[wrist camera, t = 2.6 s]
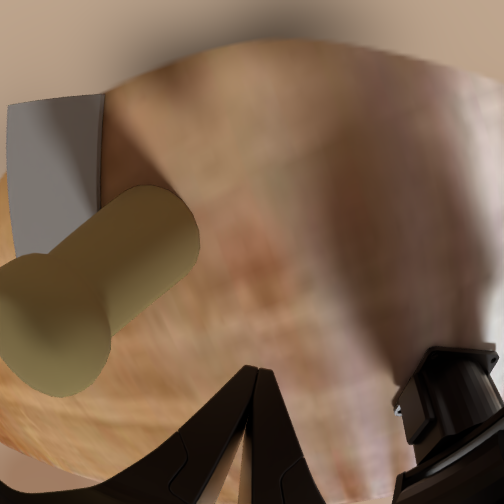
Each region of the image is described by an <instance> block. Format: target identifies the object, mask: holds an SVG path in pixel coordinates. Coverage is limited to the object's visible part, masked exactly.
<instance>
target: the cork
mask: <svg viewBox="0 0 504 504" xmlns="http://www.w3.org/2000/svg"><path fill="white" fill-rule="evenodd" d="M199 250H200V238H199V230H198V227H197V224H196V222H195V219H194V216H193V214H192V213H191V211H190V210H189V209H188V207H187V206H186V205H185V203H184V202H183V201H182V200H181V199H180V198H178V197H177V196H176V195H174V194H173V193H172V192H170V191H169V190H166V189H163V188H160V187H157V186H154V185H138V186H136V187H133V188H131V189H128V190H126V191H124V192H123V193H122V194H120V195H119V196H118V197H116V198H115V199H114V200H112V201H111V202H110V203H108V204H107V205H106V206H104V207H103V208H102V209H101V210H99V211H98V212H97V213H96V214H94V215H93V216H92V217H91V218H89V219H88V220H87V221H86V222H84V223H83V224H82V225H81V226H79V227H78V228H77V229H76V230H75V231H73V232H72V233H71V234H70V235H69V236H67V237H66V238H65V239H64V240H63V241H62V242H60V243H59V244H58V245H57V246H56V247H55V248H54V249H52V250H51V251H50V252H49V253H48V254H42V253H31V254H26V255H22V256H20V257H18V258H16V259H14V260H12V261H10V262H8V263H7V264H5V265H3V266H2V267H0V357H1V358H2V359H3V361H4V362H5V363H6V364H7V366H8V367H9V368H10V369H11V370H12V371H13V372H14V373H15V374H16V375H17V376H18V377H19V378H20V379H21V380H22V381H23V382H25V383H26V384H27V385H29V386H30V387H32V388H33V389H35V390H37V391H39V392H41V393H44V394H46V395H49V396H52V397H59V398H63V397H67V396H71V395H75V394H77V393H79V392H82V391H83V390H85V389H86V388H87V387H89V386H90V385H92V384H93V383H94V381H95V380H96V378H97V377H98V376H99V374H100V373H101V371H102V369H103V367H104V365H105V364H106V362H107V359H108V356H109V353H110V350H111V337H112V336H114V335H115V334H116V333H117V332H118V331H120V330H121V329H122V328H123V327H124V326H126V325H127V324H128V323H129V322H130V321H131V320H133V319H134V318H135V317H136V316H137V315H139V314H140V313H141V312H142V311H144V310H145V309H146V308H147V307H148V306H150V305H151V304H152V303H153V302H154V301H156V300H157V299H158V298H159V297H160V296H162V295H163V294H164V293H165V292H167V291H168V290H169V289H170V288H171V287H173V286H174V285H175V284H176V283H177V282H179V281H180V280H181V279H182V278H184V277H185V276H186V275H187V274H188V273H189V272H190V270H191V269H192V268H193V266H194V265H195V263H196V261H197V257H198V254H199Z"/></svg>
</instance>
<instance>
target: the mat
mask: <svg viewBox="0 0 504 504" xmlns="http://www.w3.org/2000/svg"><path fill="white" fill-rule="evenodd" d="M104 98H105V94H94V95H82V96H71V97H61V98H53V99H45V100H37V101H30V102H24V103H18V104H13V105H8V110H7V136H6V138H7V139H6V158H7V183H8V197H9V208H10V217H11V226H12V233H13V240H14V246H15V252H16V258H18V257H20V256H22V255H26V254H31V253H42V254H48V253H49V252H50V251H51V250H52V249H54V248H55V247H56V246H57V245H58V244H59V243H60V242H62V241H63V240H64V239H65V238H66V237H67V236H69V235H70V234H71V233H72V232H73V231H75V230H76V229H77V228H78V227H79V226H81V225H82V224H83V223H84V222H86V221H87V220H88V219H89V218H91V217H92V216H93V215H94V214H96V213H97V212H98V211H99V210H100V162H101V137H102V121H103V109H104Z"/></svg>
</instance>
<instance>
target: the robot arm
mask: <svg viewBox="0 0 504 504" xmlns="http://www.w3.org/2000/svg"><path fill="white" fill-rule="evenodd" d="M434 353H435V354H434ZM432 354H434V355H432ZM498 359H499V356H498V354H497V352H495V351H482V350H470V349H458V348H447V347H437V346H433V347H431V348H429V349H428V350H427V351H426V353H425V355H424V357H423V359H422V361H421V363H420V364H419V366H418V368H417V370H416V372H415V374H414V375H413V376H412V377H411V379H410V381H409V382H408V384H407V386H406V388H405V389H404V391H403V393H402V394H401V396H400V397H399V401H398V402H397V404H396V405H395V407H394V414H395V415H396V416H402V419H403V424H404V429H405V434H406V439H407V442H408V444H409V445H413V447H414V452H415V458H416V464H417V466H416V467H414V468H413V469H411V470H409V471H407V472H403V473H401V474H399V475H397V478H396V484H395V490H394V495H393V500H392V504H504V402H503V400H502V398H501V396H500V394H499V392H498V390H497V388H496V386H495V384H494V382H493V380H492V378H491V376H490V373H491V371H492V369H493V368H494V366H495V365H496V363H497V361H498ZM257 373H258V374H257ZM247 418H248V419H247ZM245 427H246V428H245ZM244 430H245V433H244ZM243 434H244V441H243V452H242V463H241V474H240V485H239V496H238V504H326V503H325V501H324V499H323V497H322V496H321V494H320V492H319V490H318V488H317V486H316V484H315V482H314V480H313V477H312V475H311V473H310V470H309V468H308V465H307V463H306V460H305V458H304V455H303V452H302V449H301V447H300V444H299V441H298V439H297V436H296V433H295V430H294V428H293V425H292V422H291V419H290V417H289V414H288V411H287V408H286V406H285V403H284V400H283V397H282V395H281V392H280V389H279V386H278V383H277V381H276V378H275V375H274V372H273V371H272V370H270V369H265V368H259V369H258V368H257V367H255V366H250V365H244V366H243V367H242V368H241V369H240V370H239V371H238V372H237V373H236V374H235V375H234V376H233V377H232V378H231V379H230V380H229V381H228V382H227V383H226V384H225V385H224V386H223V387H222V388H221V389H220V390H219V391H218V392H217V393H216V394H215V395H214V396H213V397H212V398H211V399H210V400H209V401H208V402H207V403H206V404H205V405H204V406H203V407H202V408H201V409H200V410H199V411H197V412H196V413H195V414H194V415H193V416H192V417H191V418H190V419H189V420H188V421H187V422H186V423H185V424H184V425H183V426H182V427H180V428H179V429H178V431H176V432H175V433H174V434H173V435H172V436H170V437H169V438H168V439H167V440H166V441H165V442H164V443H162V444H161V445H160V446H159V447H158V448H156V449H155V450H154V451H152V452H151V453H149V454H148V455H146V456H145V457H144V458H142V459H141V460H139V461H137V462H136V463H134V464H133V465H131V466H130V467H128V468H126V469H125V470H123V471H122V472H120V473H118V474H117V475H115V476H113V477H112V478H110V479H108V480H106V481H104V482H102V483H100V484H97V485H95V486H91V487H87V488H80V489H73V490H65V491H56V492H44V493H24V492H19V491H16V490H14V489H12V488H10V487H8V486H7V485H6V484H5V483H3V482H2V481H1V480H0V504H215V502H216V500H217V498H218V495H219V493H220V491H221V488H222V486H223V484H224V481H225V479H226V477H227V474H228V472H229V469H230V467H231V464H232V462H233V460H234V457H235V455H236V452H237V450H238V447H239V445H240V442H241V440H242V437H243Z"/></svg>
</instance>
